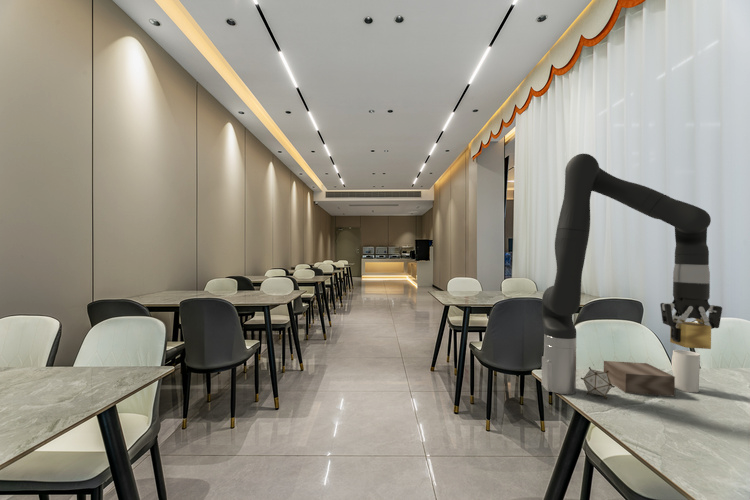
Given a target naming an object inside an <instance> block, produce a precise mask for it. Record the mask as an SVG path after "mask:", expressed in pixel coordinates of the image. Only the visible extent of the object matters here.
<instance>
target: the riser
mask: <svg viewBox="0 0 750 500" xmlns="http://www.w3.org/2000/svg"><path fill="white" fill-rule="evenodd" d="M608 370H609V372H608V373H607V374H608V377H609V379H610V382H611V384H612V386H615V387H617V388H618V389H620V390H621V391H623V392H624V393H625V394H636V393H638V394H637V395H639V394H641V395H651V396H652V395H653V396H668V397H675V395H676V394H675V392H676V388H675V377H674V376H673V374H670V373H668V372H666V371H664V370H662V369H660V368H658V367H655V366H654V365H652V364H649V363H647V362H645V363H644V362H634V361H633V362H630V361H628V362H627V361H616V360H615V361H611V360H610V361H609V360H603V372H606V371H608Z"/></svg>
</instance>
